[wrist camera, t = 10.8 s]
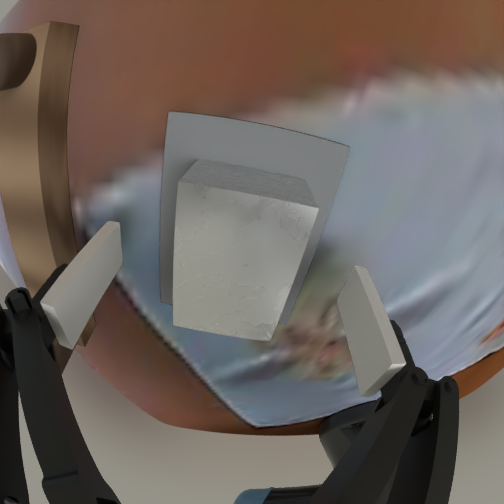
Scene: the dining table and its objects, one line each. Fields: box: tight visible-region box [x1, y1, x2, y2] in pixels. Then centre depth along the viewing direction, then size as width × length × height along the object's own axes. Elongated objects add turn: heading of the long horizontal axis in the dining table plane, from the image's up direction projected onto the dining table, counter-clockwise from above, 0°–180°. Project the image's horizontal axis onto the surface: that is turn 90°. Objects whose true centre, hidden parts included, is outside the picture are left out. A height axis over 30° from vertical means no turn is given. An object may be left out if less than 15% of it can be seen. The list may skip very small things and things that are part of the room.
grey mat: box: [160, 111, 350, 324], centre depth 17 cm, size 14×10×1 cm
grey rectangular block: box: [173, 159, 319, 342], centre depth 15 cm, size 9×6×4 cm, turn 169°
